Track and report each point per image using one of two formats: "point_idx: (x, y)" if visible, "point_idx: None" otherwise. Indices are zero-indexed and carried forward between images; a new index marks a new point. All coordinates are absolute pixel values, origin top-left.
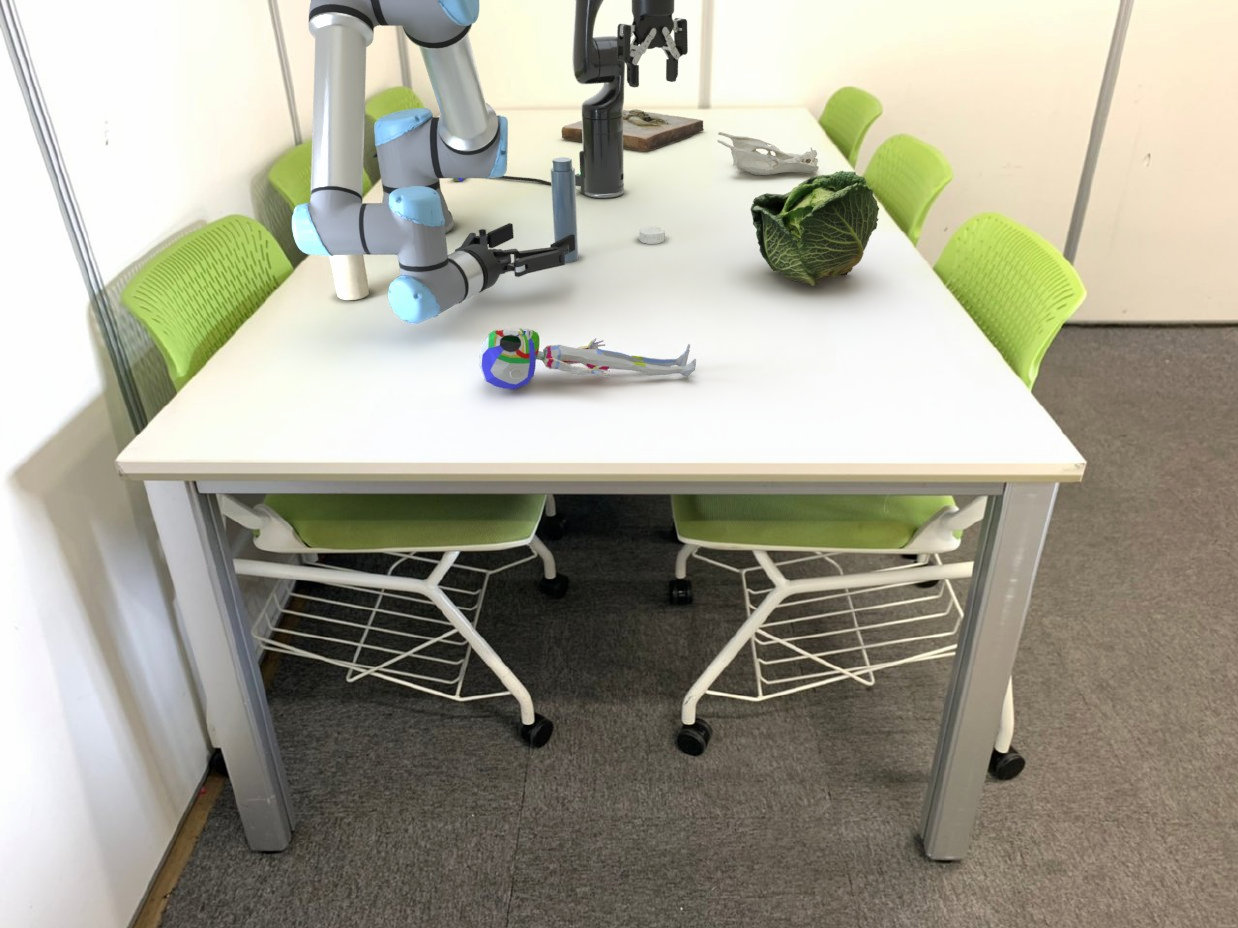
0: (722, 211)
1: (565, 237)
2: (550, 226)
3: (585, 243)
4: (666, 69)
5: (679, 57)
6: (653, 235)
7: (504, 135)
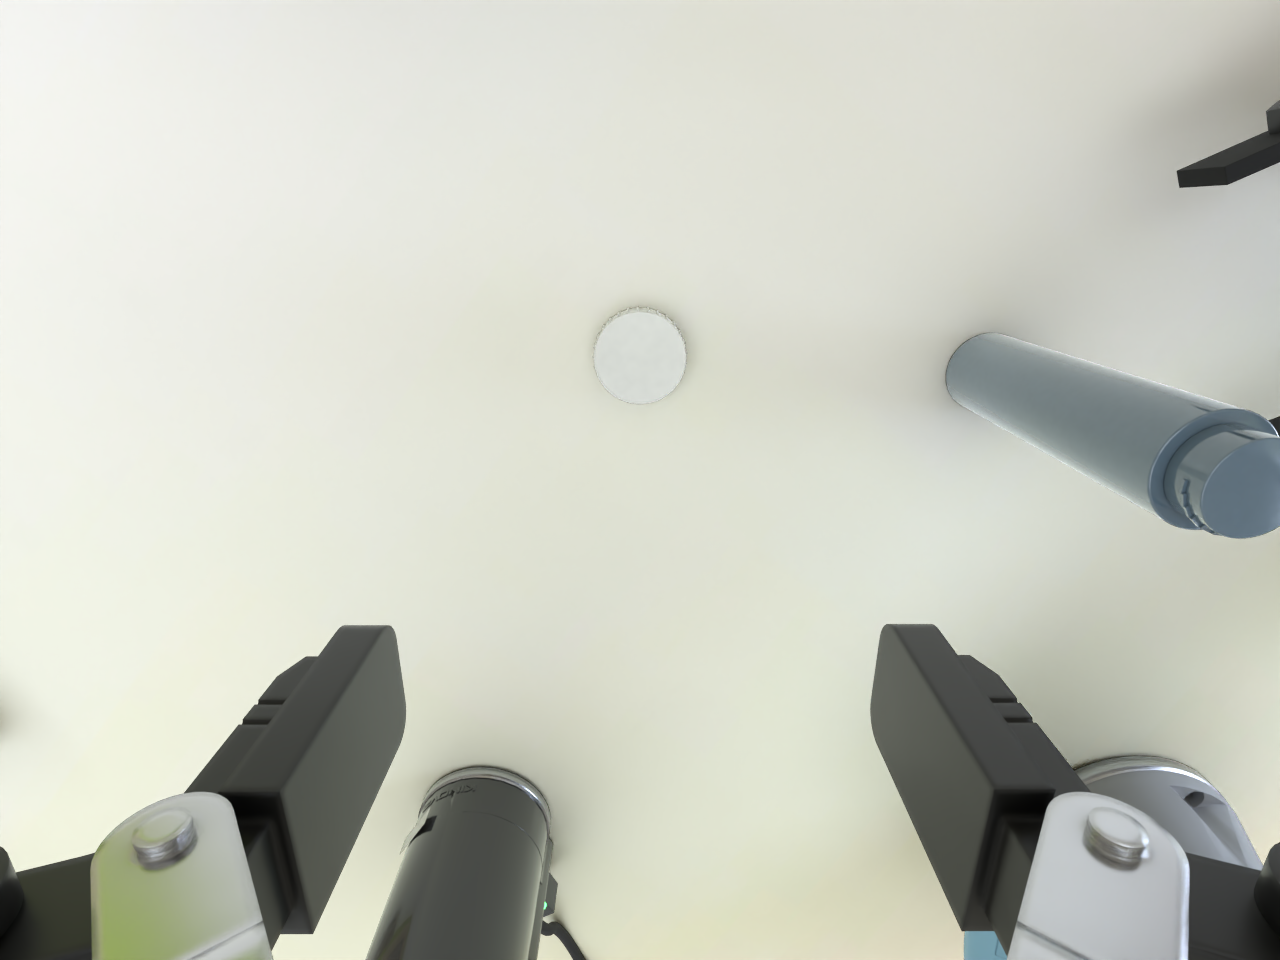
0: (237, 459)
1: (1277, 160)
2: (814, 658)
3: (836, 462)
4: (364, 813)
5: (133, 816)
6: (663, 318)
7: None
